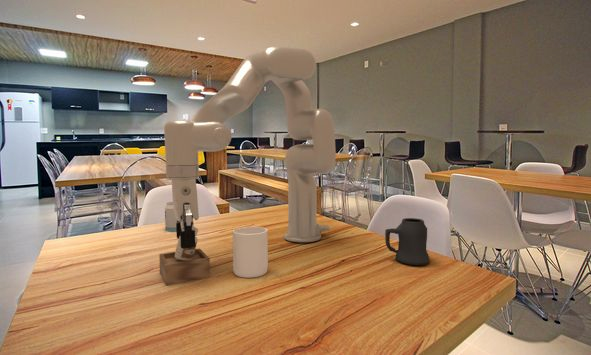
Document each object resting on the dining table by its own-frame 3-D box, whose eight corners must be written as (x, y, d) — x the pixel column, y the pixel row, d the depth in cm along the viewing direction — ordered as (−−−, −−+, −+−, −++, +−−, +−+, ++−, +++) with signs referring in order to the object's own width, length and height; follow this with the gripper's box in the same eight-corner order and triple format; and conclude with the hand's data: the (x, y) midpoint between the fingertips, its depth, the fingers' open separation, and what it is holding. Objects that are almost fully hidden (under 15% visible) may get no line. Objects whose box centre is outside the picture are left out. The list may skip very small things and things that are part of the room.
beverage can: (181, 237, 120) (180, 204, 119) (162, 237, 120) (161, 204, 119) (188, 232, 127) (187, 201, 126) (170, 232, 127) (169, 201, 126)
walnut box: (200, 267, 89) (199, 248, 88) (210, 279, 80) (209, 258, 80) (159, 274, 84) (159, 253, 84) (165, 287, 75) (165, 265, 75)
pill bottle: (183, 262, 79) (191, 230, 79) (170, 256, 81) (178, 225, 81) (196, 260, 83) (203, 230, 83) (183, 254, 85) (190, 225, 85)
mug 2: (422, 254, 98) (423, 216, 97) (434, 264, 89) (436, 223, 88) (381, 254, 98) (382, 216, 97) (389, 264, 89) (390, 223, 88)
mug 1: (273, 263, 91) (273, 224, 90) (263, 279, 79) (263, 234, 78) (242, 262, 92) (242, 223, 91) (228, 277, 80) (227, 233, 79)
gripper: (204, 174, 74) (207, 249, 75) (193, 170, 90) (196, 233, 91) (168, 175, 71) (172, 254, 72) (163, 171, 87) (166, 236, 88)
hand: (185, 242), depth 82 cm, fingers open, 9 cm apart
